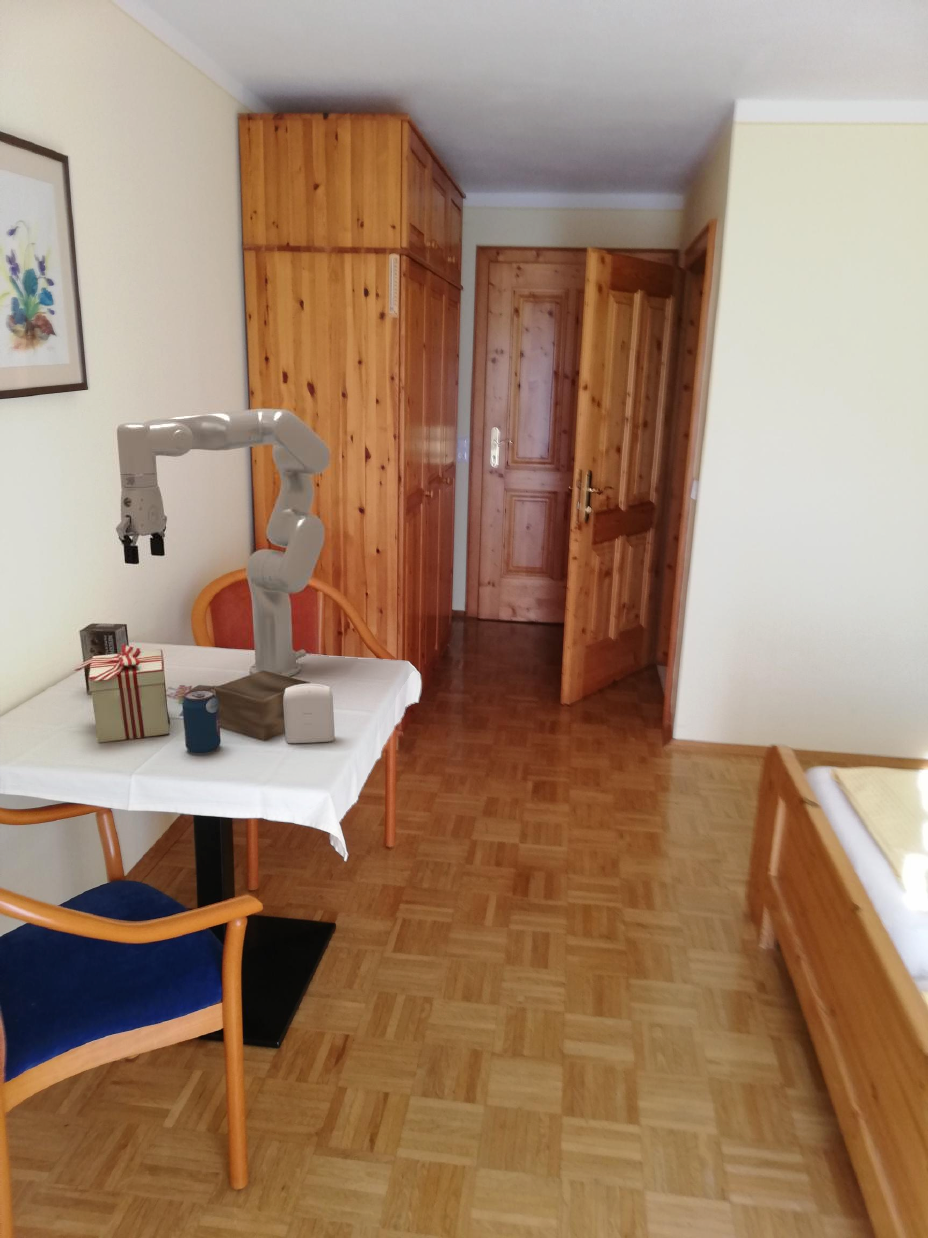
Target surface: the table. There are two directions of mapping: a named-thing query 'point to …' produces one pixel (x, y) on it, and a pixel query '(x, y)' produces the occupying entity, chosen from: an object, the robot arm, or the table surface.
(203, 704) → the soda can
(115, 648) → the coffee box
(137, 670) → the gift box
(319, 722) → the photo printer
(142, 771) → the table surface
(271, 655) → the robot arm
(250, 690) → the walnut box
